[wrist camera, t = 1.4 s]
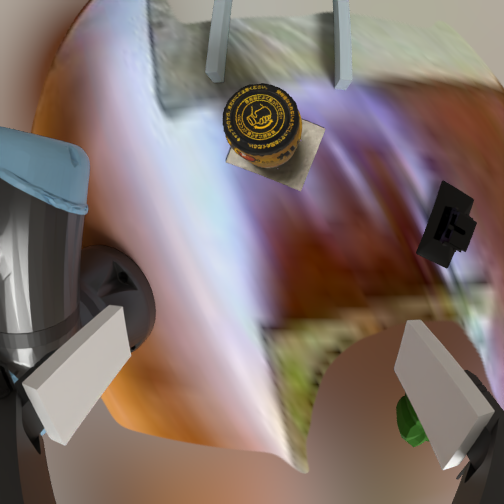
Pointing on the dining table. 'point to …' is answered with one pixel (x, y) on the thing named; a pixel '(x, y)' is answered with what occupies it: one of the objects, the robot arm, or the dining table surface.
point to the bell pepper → (409, 423)
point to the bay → (221, 30)
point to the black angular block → (447, 226)
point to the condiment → (270, 134)
